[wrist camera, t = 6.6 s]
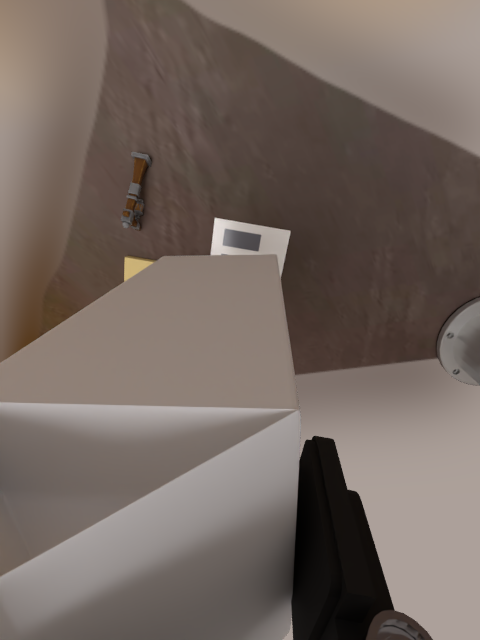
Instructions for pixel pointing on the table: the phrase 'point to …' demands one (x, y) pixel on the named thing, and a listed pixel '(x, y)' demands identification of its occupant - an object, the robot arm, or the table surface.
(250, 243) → the tile
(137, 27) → the table surface
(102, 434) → the milk carton
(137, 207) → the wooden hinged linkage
